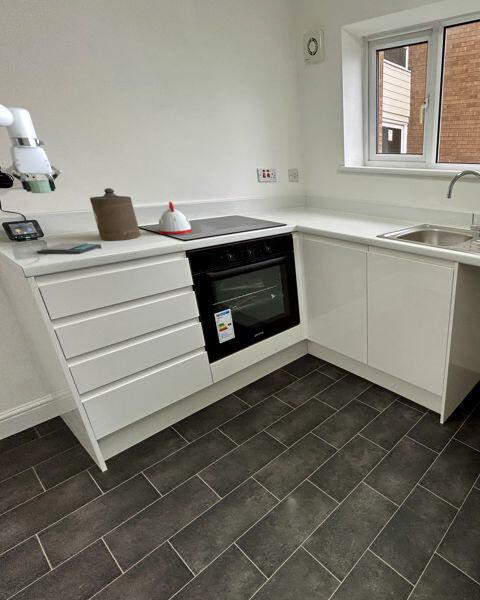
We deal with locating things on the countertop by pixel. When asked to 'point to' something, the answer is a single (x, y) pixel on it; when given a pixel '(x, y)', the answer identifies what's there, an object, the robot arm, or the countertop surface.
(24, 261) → the countertop surface
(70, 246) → the scale
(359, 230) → the countertop surface
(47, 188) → the bowl
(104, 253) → the countertop surface
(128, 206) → the wooden container
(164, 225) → the white dome
